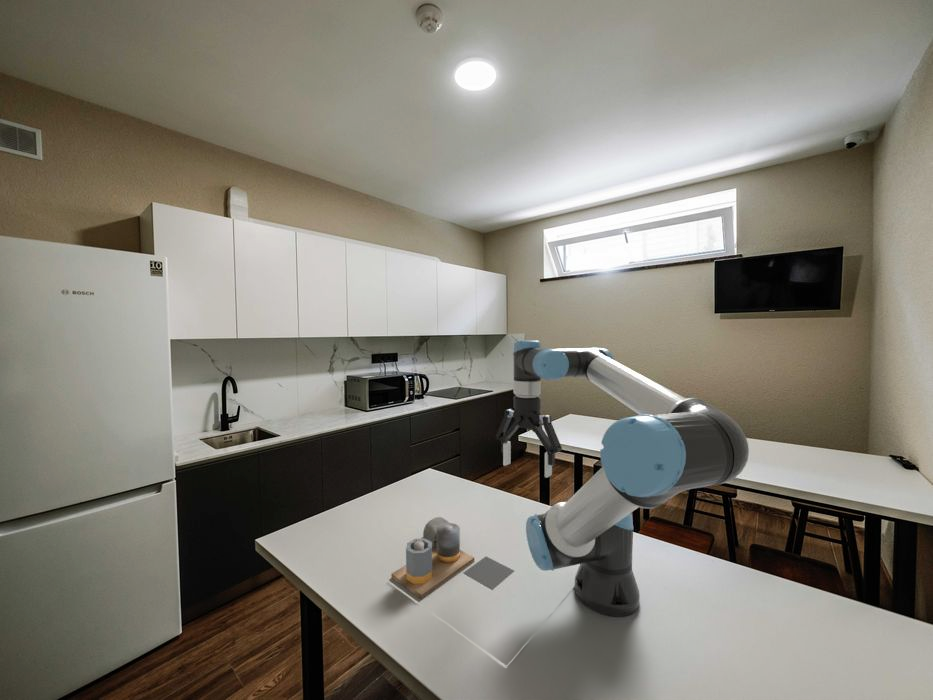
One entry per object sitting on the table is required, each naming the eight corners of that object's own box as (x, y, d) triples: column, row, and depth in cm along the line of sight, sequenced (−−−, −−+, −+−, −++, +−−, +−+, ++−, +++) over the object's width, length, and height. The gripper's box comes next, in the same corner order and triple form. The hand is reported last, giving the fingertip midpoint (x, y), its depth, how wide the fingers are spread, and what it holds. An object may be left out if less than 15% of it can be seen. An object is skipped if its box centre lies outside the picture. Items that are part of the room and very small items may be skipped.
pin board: (474, 562, 105) (474, 528, 104) (421, 600, 90) (421, 560, 89) (444, 546, 113) (444, 514, 112) (391, 579, 98) (391, 542, 97)
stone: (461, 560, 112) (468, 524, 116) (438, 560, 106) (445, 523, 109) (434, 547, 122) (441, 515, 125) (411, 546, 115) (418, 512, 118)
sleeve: (437, 574, 97) (436, 544, 97) (418, 587, 92) (417, 556, 92) (420, 564, 102) (420, 535, 101) (401, 575, 97) (401, 546, 96)
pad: (514, 572, 101) (514, 570, 101) (492, 591, 93) (492, 589, 93) (485, 557, 107) (485, 556, 107) (463, 574, 100) (462, 572, 100)
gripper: (574, 398, 98) (574, 477, 98) (498, 389, 114) (498, 457, 115) (561, 402, 92) (561, 485, 93) (483, 392, 108) (483, 463, 109)
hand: (526, 470), depth 104 cm, fingers open, 13 cm apart
